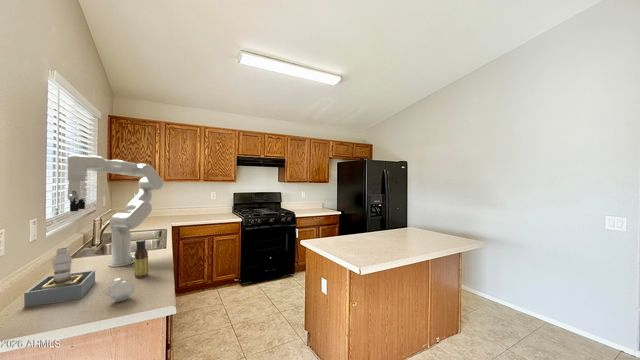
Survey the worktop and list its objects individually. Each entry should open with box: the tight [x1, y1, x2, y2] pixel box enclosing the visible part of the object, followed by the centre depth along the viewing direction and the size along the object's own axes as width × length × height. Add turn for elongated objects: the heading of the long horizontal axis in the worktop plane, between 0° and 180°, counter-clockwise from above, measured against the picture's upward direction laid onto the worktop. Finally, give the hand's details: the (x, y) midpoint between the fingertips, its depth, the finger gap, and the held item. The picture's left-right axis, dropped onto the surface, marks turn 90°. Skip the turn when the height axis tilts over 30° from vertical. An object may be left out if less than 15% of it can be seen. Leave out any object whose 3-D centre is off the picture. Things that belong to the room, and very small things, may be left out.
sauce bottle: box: [133, 239, 149, 279], centre depth 140 cm, size 6×6×20 cm
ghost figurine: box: [105, 277, 135, 303], centre depth 113 cm, size 9×10×10 cm
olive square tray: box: [41, 274, 83, 290], centre depth 120 cm, size 11×11×5 cm
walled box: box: [23, 269, 96, 308], centre depth 120 cm, size 18×20×6 cm
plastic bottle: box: [51, 247, 73, 285], centre depth 119 cm, size 6×7×20 cm
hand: (77, 210), depth 138 cm, fingers open, 9 cm apart
